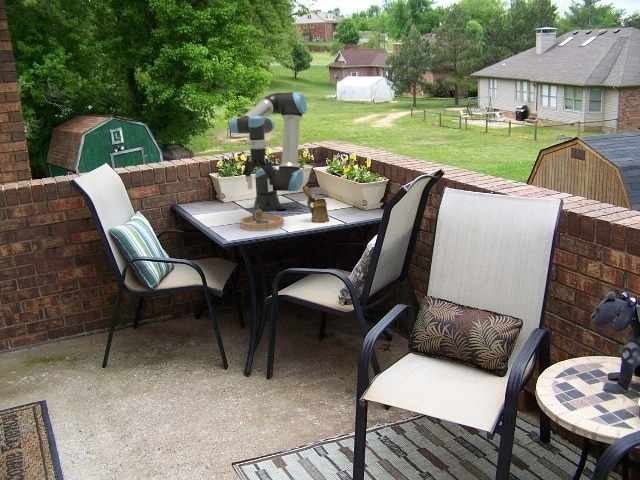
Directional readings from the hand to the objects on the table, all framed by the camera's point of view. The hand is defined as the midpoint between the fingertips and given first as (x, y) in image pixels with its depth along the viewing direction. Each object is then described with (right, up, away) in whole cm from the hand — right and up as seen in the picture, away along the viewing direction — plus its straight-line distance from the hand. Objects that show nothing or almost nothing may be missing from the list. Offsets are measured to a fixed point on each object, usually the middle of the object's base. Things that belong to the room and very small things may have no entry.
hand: (260, 190), depth 352 cm
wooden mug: (+28, -15, +11) cm, 34 cm away
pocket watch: (0, -17, +5) cm, 18 cm away
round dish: (+1, -18, +5) cm, 18 cm away
